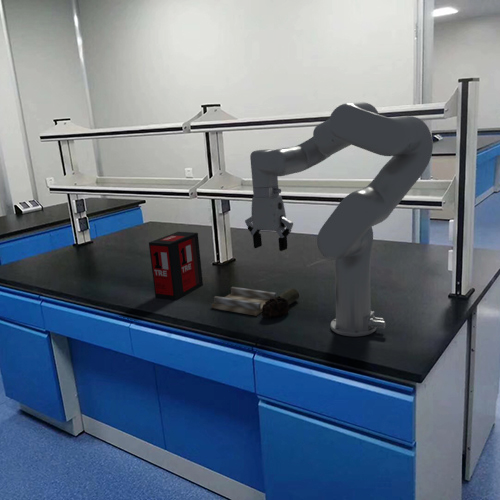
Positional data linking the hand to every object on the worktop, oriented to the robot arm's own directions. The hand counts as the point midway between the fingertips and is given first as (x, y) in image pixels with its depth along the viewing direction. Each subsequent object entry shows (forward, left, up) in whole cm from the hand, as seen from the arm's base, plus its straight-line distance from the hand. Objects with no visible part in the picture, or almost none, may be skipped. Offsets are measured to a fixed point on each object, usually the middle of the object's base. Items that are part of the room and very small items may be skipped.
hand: (270, 248), depth 153 cm
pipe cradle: (+11, -1, -20) cm, 23 cm away
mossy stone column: (-2, -1, -20) cm, 21 cm away
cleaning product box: (+41, -3, -20) cm, 45 cm away
